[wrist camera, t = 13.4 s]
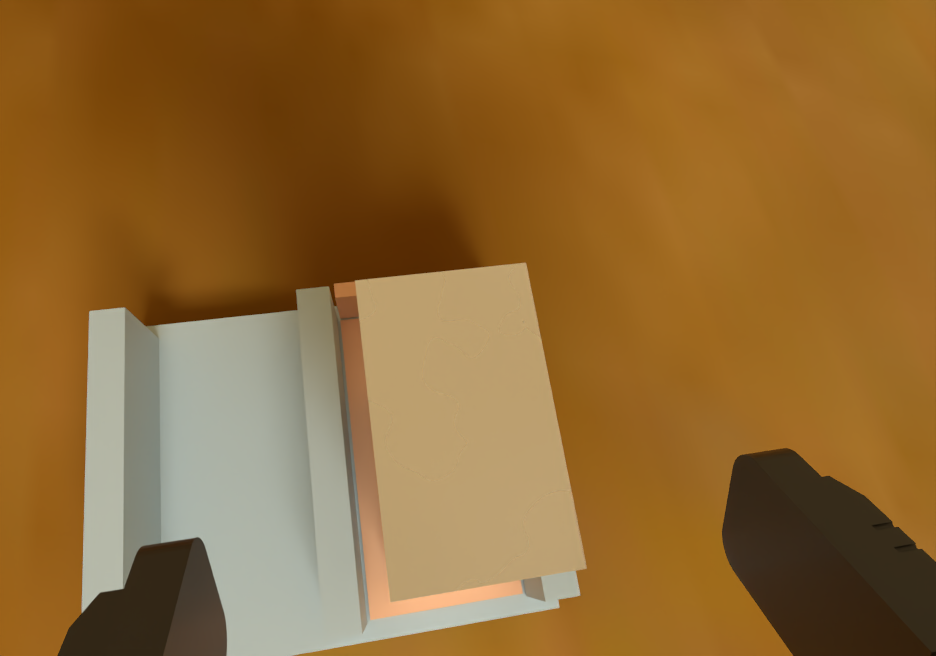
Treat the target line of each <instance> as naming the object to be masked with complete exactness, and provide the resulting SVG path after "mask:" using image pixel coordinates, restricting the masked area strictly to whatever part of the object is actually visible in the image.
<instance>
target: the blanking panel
mask: <svg viewBox="0 0 936 656" xmlns="http://www.w3.org/2000/svg"><path fill="white" fill-rule="evenodd" d="M355 286H356V295H357V304H358V313H359V322H360V331H361V340H362V349H363V358H364V367H365V376H366V386H367V395H368V404H369V413H370V422H371V431H372V440H373V449H374V458H375V467H376V476H377V485H378V494H379V504H380V513H381V522H382V531H383V540H384V549H385V558H386V567H387V576H388V585H389V594H390V602H396V601H401V600H407V599H413V598H419V597H425V596H430V595H436V594H442V593H448V592H454V591H459V590H465V589H471V588H477V587H483V586H488V585H494V584H500V583H506V582H512V581H517V580H523V579H529V578H535V577H541V576H546V575H552V574H558V573H564V572H570V571H575V570H581V569H587V567H586V562H585V557H584V552H583V547H582V542H581V537H580V532H579V526H578V521H577V516H576V511H575V506H574V501H573V496H572V491H571V486H570V481H569V476H568V471H567V466H566V461H565V456H564V451H563V446H562V441H561V436H560V431H559V426H558V421H557V416H556V411H555V406H554V401H553V396H552V391H551V386H550V381H549V376H548V371H547V366H546V361H545V356H544V351H543V346H542V341H541V335H540V330H539V325H538V320H537V315H536V310H535V305H534V300H533V295H532V290H531V285H530V280H529V275H528V270H527V265H526V263H519V264H509V265H499V266H490V267H480V268H471V269H461V270H451V271H442V272H432V273H422V274H413V275H403V276H393V277H384V278H374V279H365V280H355Z"/></svg>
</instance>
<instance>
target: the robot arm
mask: <svg viewBox="0 0 936 656" xmlns="http://www.w3.org/2000/svg"><path fill="white" fill-rule="evenodd" d="M722 538H723V545H724V549H725V553H726V556H727V559H728V561H729V563H730V565H731V567H732V569H733V570H734V572H735V573H736V575H737V576H738V578H739V579H740V581H741V582H742V583H743V585H744V586H745V588H746V589H747V591H748V592H749V593H750V595H751V596H752V598H753V599H754V600H755V602H756V603H757V605H758V606H759V608H760V609H761V610H762V612H763V613H764V615H765V616H766V617H767V619H768V620H769V622H770V623H771V625H772V626H773V627H774V629H775V630H776V632H777V633H778V634H779V636H780V637H781V639H782V640H783V642H784V643H785V644H786V646H787V647H788V649H789V650H790V652H791V653H792V654H793V656H936V562H935V561H934V560H933V559H932V558H931V557H930V556H929V555H928V554H927V553H926V552H924V551H923V550H922V549H917V548H916V545H915V544H916V543H915V542H914V541H913V540H912V539H910V538H909V537H908V536H907V535H906V534H905V533H904V532H903V531H902V530H901V529H900V528H899V527H894V526H893V524H892V521H891V520H890V519H889V518H888V517H887V516H886V515H885V514H884V513H882V512H881V511H880V510H879V509H878V508H877V507H876V506H875V505H874V504H873V503H872V502H871V501H870V500H868V499H867V498H866V497H865V496H864V495H862V494H860V493H858V492H857V491H855V490H853V489H851V488H850V487H848V486H846V485H844V484H842V483H841V482H839V481H837V480H835V479H833V478H832V477H830V476H825V477H821V476H820V475H819V474H818V473H817V472H816V471H815V470H814V469H813V468H812V467H811V466H810V465H809V464H808V463H807V462H806V461H805V460H804V459H803V458H802V457H801V456H799V455H798V454H797V453H796V452H795V451H793V450H791V449H788V448H783V449H777V450H771V451H764V452H758V453H751V454H745V455H740V456H739V457H737V459H736V460H735V462H734V465H733V470H732V476H731V482H730V488H729V494H728V499H727V505H726V511H725V517H724V523H723V529H722ZM226 655H227V629H226V620H225V614H224V610H223V607H222V603H221V600H220V596H219V593H218V590H217V586H216V583H215V579H214V576H213V572H212V569H211V565H210V562H209V558H208V555H207V551H206V548H205V545H204V543H203V541H202V540H201V539H200V538H199V537H196V538H190V539H183V540H177V541H170V542H164V543H157V544H151V545H144V546H142V547H140V548H139V550H138V551H137V553H136V556H135V558H134V561H133V564H132V567H131V570H130V572H129V575H128V578H127V581H126V584H125V586H124V589H119V590H113V591H106V592H100V593H99V594H98V595H97V596H96V597H95V599H94V600H93V601H92V602H91V603H90V604H89V606H88V607H87V608H86V609H85V610H84V611H83V613H82V614H81V615H80V616H79V617H78V618H77V620H76V621H75V622H74V623H73V624H72V625H71V627H70V628H69V630H68V632H67V634H66V637H65V639H64V642H63V644H62V646H61V649H60V651H59V653H58V656H226Z"/></svg>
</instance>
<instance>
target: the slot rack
mask: <svg viewBox="0 0 936 656" xmlns="http://www.w3.org/2000/svg"><path fill="white" fill-rule="evenodd" d="M334 292H335V299H336V303H337V306H334V304H333V300H332V296H331V292H330V289H329V286H327V287H317V288H307V289H298V290H296V295H297V308H298V310H294V311H284V312H275V313H266V314H257V315H247V316H238V317H229V318H220V319H210V320H201V321H192V322H183V323H173V324H164V325H155V326H145V325H144V324H142V323H141V322H140V321H139V320H138V319H137V318H136V317H135V316H134V315H133V314H132V313H130V312H129V311H128V310H127V309H126V308H125V307H124V308H115V309H105V310H95V311H89V343H88V383H87V422H86V462H85V501H84V541H83V581H82V613H83V611H84V610H85V609H86V608H87V607H88V606H89V604H90V603H91V602H92V601H93V600H94V599H95V597H96V596H97V595H98V594H99V593H100V592H106V591H113V590H119V589H124V586H125V584H126V581H127V578H128V575H129V572H130V570H131V567H132V564H133V561H134V558H135V556H136V553H137V551H138V550H139V548H140V547H142V546H144V545H151V544H157V543H164V542H170V541H177V540H183V539H190V538H196V537H199V538H200V539H201V540H202V541H203V543H204V545H205V548H206V551H207V555H208V558H209V562H210V565H211V569H212V572H213V576H214V579H215V583H216V586H217V590H218V593H219V596H220V600H221V603H222V607H223V610H224V614H225V620H226V629H227V655H226V656H292V655H297V654H303V653H309V652H314V651H320V650H325V649H331V648H337V647H342V646H348V645H353V644H359V643H364V642H370V641H376V640H381V639H387V638H392V637H398V636H404V635H409V634H415V633H420V632H426V631H432V630H437V629H443V628H448V627H454V626H459V625H465V624H471V623H476V622H482V621H487V620H493V619H499V618H504V617H510V616H515V615H521V614H526V613H532V612H538V611H543V610H549V609H554V608H560V607H559V602H558V599H564V598H570V597H575V596H580V591H579V586H578V580H577V575H576V570H575V571H570V572H564V573H558V574H552V575H546V576H541V577H535V578H529V579H523V580H517V581H512V582H506V583H500V584H494V585H488V586H483V587H477V588H471V589H465V590H459V591H454V592H448V593H442V594H436V595H430V596H425V597H419V598H413V599H407V600H401V601H396V602H390V594H389V585H388V576H387V567H386V558H385V549H384V540H383V531H382V522H381V513H380V504H379V494H378V485H377V476H376V467H375V458H374V449H373V440H372V431H371V422H370V413H369V404H368V395H367V386H366V376H365V367H364V358H363V349H362V340H361V331H360V322H359V313H358V304H357V295H356V286H355V282H345V283H336V284H334Z"/></svg>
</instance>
